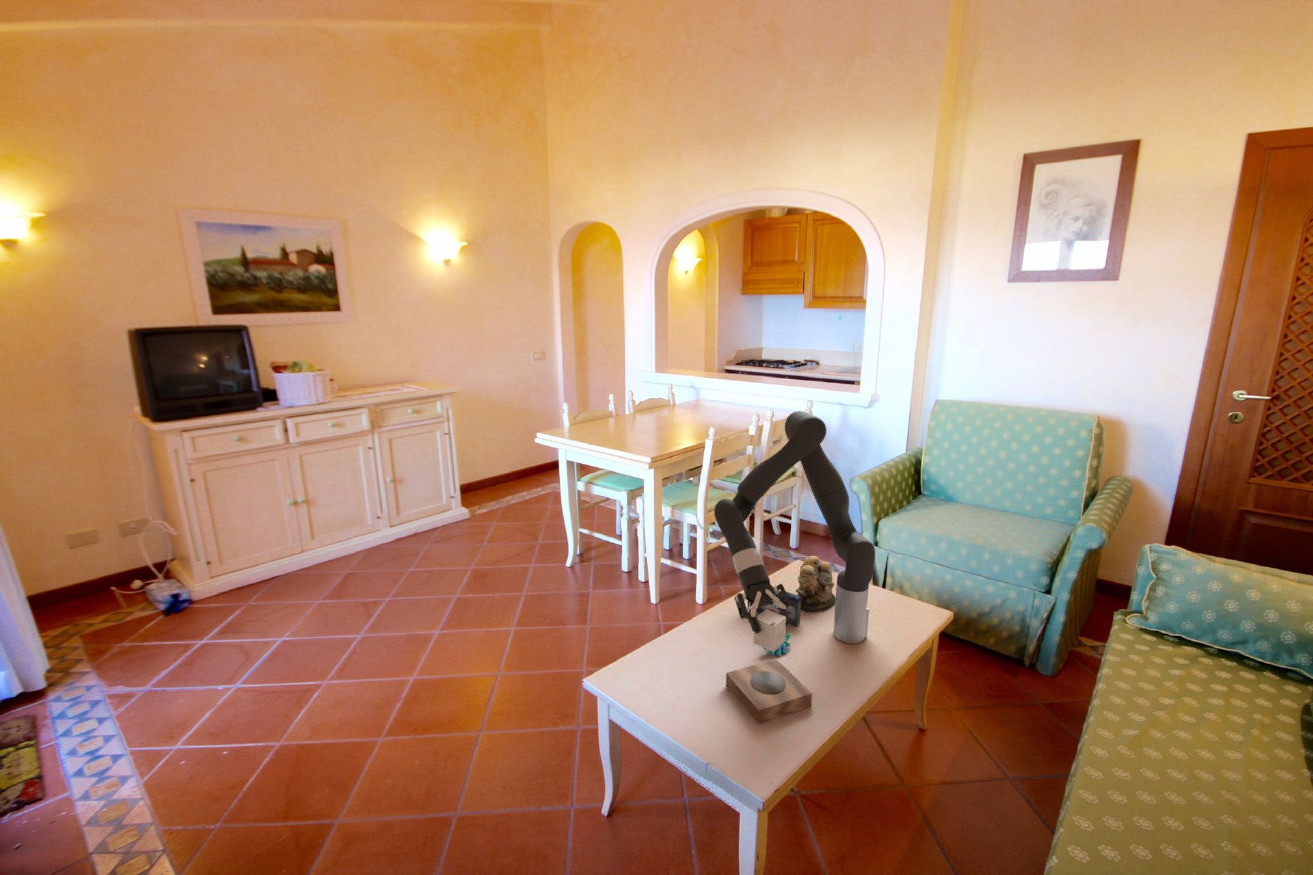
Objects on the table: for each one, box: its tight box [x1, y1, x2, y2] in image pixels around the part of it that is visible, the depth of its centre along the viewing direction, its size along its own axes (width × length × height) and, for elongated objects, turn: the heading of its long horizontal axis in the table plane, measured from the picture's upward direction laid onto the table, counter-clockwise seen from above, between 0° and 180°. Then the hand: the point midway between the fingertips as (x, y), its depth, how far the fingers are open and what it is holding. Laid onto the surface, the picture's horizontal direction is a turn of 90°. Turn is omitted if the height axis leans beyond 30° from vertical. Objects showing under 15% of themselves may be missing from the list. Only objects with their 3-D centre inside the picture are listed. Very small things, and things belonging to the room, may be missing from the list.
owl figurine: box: [795, 555, 836, 613], centre depth 200 cm, size 18×12×17 cm, turn 130°
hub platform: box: [725, 658, 813, 725], centre depth 154 cm, size 16×16×4 cm
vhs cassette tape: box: [747, 591, 802, 628], centre depth 192 cm, size 18×3×10 cm, turn 49°
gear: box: [763, 629, 793, 657], centre depth 176 cm, size 11×6×10 cm
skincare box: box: [753, 609, 787, 653], centre depth 150 cm, size 6×6×7 cm
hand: (773, 629), depth 149 cm, fingers closed on skincare box, 8 cm apart
